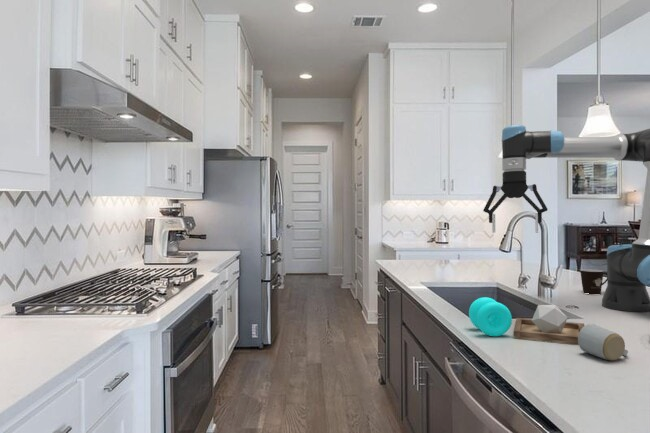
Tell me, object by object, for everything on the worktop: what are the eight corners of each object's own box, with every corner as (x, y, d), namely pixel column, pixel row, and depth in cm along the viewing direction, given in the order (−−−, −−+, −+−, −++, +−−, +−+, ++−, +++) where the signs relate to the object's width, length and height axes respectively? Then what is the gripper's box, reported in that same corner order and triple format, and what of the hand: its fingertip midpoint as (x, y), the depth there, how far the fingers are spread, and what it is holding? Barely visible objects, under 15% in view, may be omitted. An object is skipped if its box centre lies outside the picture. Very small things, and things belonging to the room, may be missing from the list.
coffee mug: (583, 295, 184) (583, 271, 183) (577, 291, 192) (577, 268, 192) (615, 296, 180) (614, 272, 180) (608, 292, 188) (607, 269, 188)
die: (565, 340, 121) (576, 310, 124) (535, 324, 123) (547, 294, 126) (550, 342, 129) (561, 314, 132) (523, 327, 130) (535, 299, 133)
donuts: (478, 338, 125) (478, 303, 125) (467, 328, 135) (467, 296, 135) (513, 337, 125) (513, 302, 125) (500, 328, 135) (499, 296, 135)
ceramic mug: (604, 363, 102) (605, 332, 102) (576, 353, 110) (577, 324, 110) (637, 359, 105) (637, 329, 105) (607, 349, 113) (608, 321, 113)
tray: (583, 330, 130) (583, 323, 130) (589, 346, 116) (589, 338, 116) (516, 324, 139) (516, 317, 139) (513, 338, 124) (513, 330, 124)
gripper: (474, 172, 152) (475, 232, 152) (555, 168, 141) (556, 233, 141) (477, 173, 159) (478, 231, 159) (554, 169, 148) (555, 232, 148)
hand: (514, 232), depth 150 cm, fingers open, 13 cm apart
